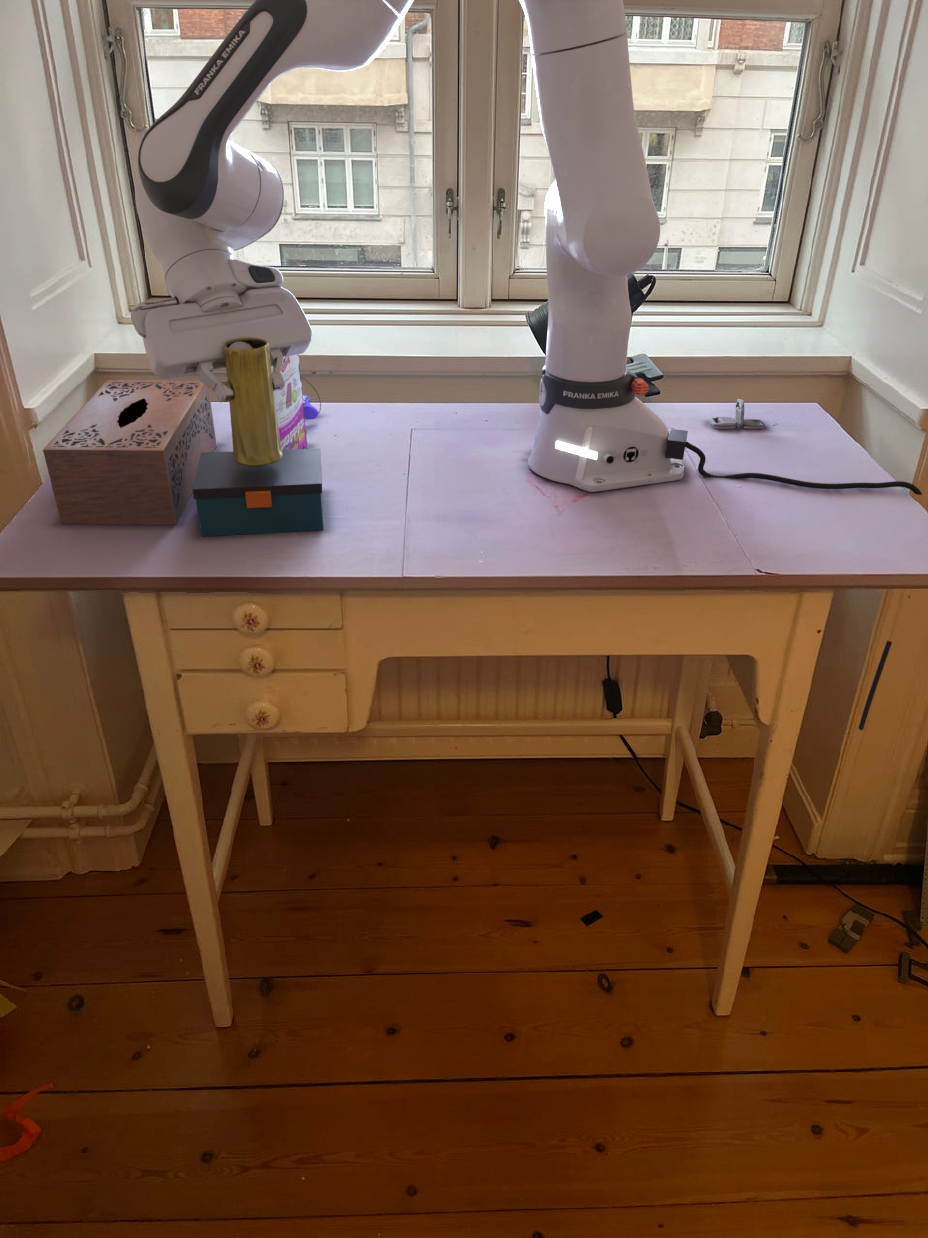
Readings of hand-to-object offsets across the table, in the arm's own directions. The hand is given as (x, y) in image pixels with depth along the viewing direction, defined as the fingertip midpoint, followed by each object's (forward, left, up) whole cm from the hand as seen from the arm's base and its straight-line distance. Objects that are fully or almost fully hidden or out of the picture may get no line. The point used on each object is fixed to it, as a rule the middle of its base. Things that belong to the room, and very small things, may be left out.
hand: (253, 393), depth 111 cm
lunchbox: (0, 0, -16) cm, 16 cm away
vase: (0, -1, -9) cm, 9 cm away
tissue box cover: (+17, -12, -16) cm, 27 cm away
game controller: (-2, -33, -16) cm, 36 cm away
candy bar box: (-1, -18, -16) cm, 25 cm away
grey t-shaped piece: (-74, -24, -16) cm, 80 cm away
